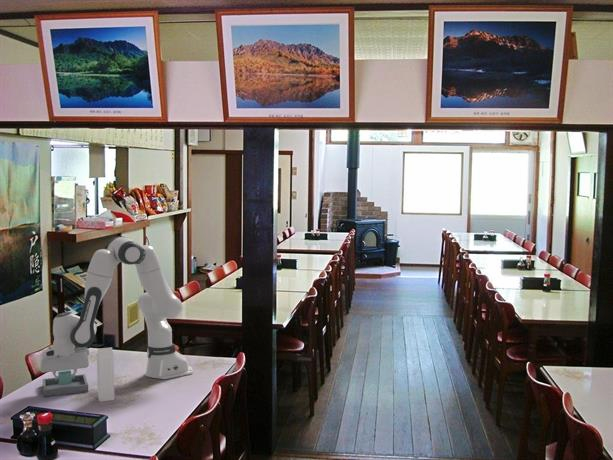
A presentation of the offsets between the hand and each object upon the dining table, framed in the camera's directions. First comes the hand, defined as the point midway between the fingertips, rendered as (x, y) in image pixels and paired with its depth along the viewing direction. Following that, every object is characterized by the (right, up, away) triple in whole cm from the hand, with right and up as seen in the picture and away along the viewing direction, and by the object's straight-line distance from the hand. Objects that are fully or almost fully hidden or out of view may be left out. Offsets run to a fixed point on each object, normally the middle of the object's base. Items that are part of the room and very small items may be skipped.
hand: (64, 379), depth 273 cm
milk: (+22, -6, -11) cm, 25 cm away
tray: (0, -4, +1) cm, 4 cm away
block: (0, -2, 0) cm, 2 cm away
